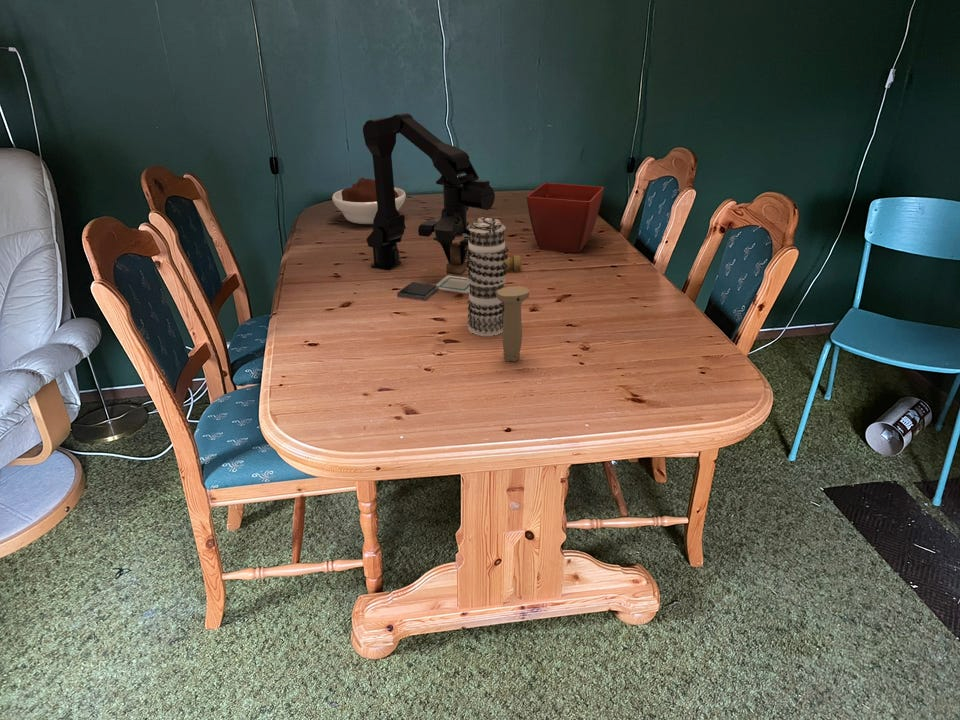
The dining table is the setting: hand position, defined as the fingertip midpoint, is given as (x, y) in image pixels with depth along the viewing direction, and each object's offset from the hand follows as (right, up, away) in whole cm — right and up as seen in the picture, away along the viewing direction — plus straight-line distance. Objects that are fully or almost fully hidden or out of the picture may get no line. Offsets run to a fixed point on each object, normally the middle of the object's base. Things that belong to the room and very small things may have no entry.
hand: (456, 263), depth 168 cm
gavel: (+12, +3, +20) cm, 23 cm away
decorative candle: (+8, -18, -22) cm, 29 cm away
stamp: (0, -2, +1) cm, 2 cm away
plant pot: (+32, +10, +32) cm, 46 cm away
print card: (0, -5, +3) cm, 6 cm away
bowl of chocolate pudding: (-32, +23, +57) cm, 70 cm away
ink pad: (-10, -8, -2) cm, 13 cm away
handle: (+13, -25, -35) cm, 45 cm away
